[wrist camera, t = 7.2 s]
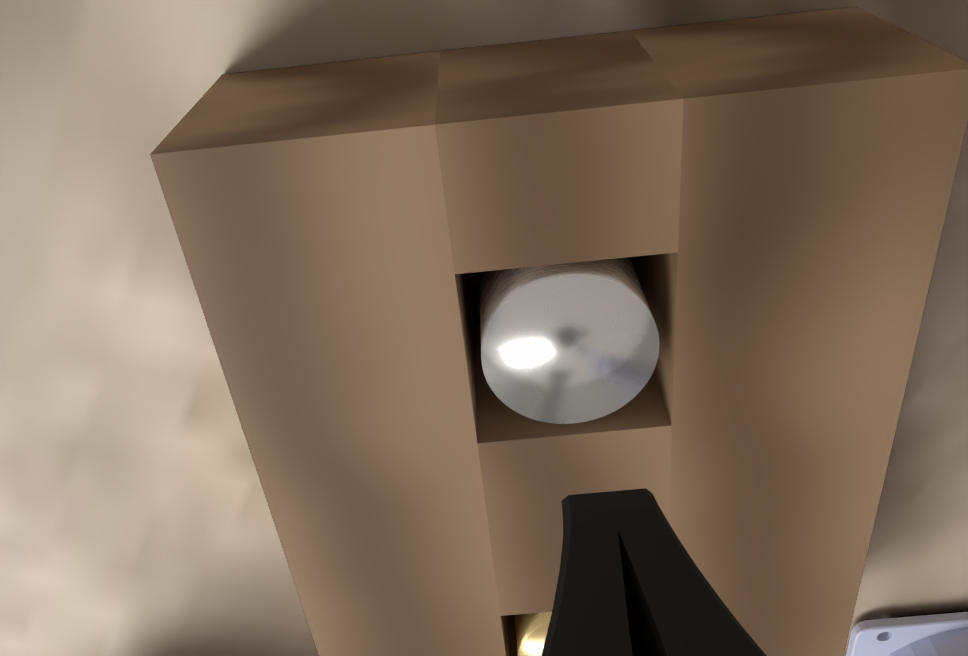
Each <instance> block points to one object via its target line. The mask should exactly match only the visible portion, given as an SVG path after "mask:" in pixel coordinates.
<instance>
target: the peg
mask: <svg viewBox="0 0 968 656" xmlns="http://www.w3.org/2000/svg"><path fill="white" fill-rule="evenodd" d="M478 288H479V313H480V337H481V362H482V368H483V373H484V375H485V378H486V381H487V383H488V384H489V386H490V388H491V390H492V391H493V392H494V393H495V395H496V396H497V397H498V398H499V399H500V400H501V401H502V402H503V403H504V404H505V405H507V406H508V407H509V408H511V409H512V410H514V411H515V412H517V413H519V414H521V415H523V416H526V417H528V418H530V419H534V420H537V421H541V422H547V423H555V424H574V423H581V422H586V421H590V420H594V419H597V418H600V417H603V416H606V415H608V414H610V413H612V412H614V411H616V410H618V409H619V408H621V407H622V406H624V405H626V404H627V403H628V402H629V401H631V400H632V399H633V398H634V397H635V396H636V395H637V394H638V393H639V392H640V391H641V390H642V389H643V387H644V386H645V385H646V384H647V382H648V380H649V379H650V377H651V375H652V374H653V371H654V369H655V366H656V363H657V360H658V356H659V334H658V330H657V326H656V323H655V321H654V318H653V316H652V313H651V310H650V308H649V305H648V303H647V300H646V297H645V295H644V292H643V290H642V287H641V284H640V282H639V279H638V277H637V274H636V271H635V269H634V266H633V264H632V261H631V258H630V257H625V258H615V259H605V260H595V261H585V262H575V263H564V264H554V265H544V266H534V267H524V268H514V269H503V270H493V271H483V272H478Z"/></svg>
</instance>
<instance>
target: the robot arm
mask: <svg viewBox="0 0 968 656" xmlns="http://www.w3.org/2000/svg"><path fill="white" fill-rule="evenodd" d="M561 502H562V518H563V544H562V553H561V563H560V570H559V576H558V582H557V587H556V593H555V599H554V605H553V610H552V614H551V619H550V623H549V627H548V631H547V635H546V639H545V643H544V647H543V651H542V655H541V656H767V655H766V654H765V653H764V652H763V651H762V650H761V648H760V647H759V646H758V645H757V644H756V642H755V641H754V640H753V639H752V638H751V636H750V635H749V634H748V633H747V632H746V630H745V629H744V628H743V627H742V625H741V624H740V623H739V622H738V621H737V619H736V618H735V617H734V615H733V614H732V613H731V612H730V610H729V609H728V608H727V607H726V605H725V604H724V603H723V601H722V600H721V599H720V597H719V596H718V594H717V593H716V592H715V590H714V589H713V588H712V586H711V585H710V584H709V582H708V581H707V580H706V578H705V577H704V575H703V574H702V573H701V571H700V570H699V568H698V567H697V566H696V564H695V563H694V561H693V560H692V558H691V557H690V555H689V554H688V552H687V551H686V549H685V548H684V546H683V545H682V543H681V542H680V540H679V539H678V537H677V535H676V534H675V532H674V531H673V529H672V527H671V526H670V524H669V522H668V521H667V519H666V517H665V516H664V514H663V512H662V510H661V509H660V507H659V505H658V503H657V501H656V499H655V497H654V495H653V493H651V492H650V491H649V490H647V489H646V488H643V489H632V490H620V491H609V492H597V493H586V494H574V495H568V496H567V497H566V498H564V499H563V500H562V501H561ZM846 656H968V612H958V613H946V614H934V615H922V616H910V617H898V618H886V619H874V620H865V621H861V622H859V623H857V624H856V625H855V626H854V627H853V629H852V631H851V636H850V640H849V644H848V649H847V653H846Z"/></svg>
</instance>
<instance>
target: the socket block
mask: <svg viewBox="0 0 968 656" xmlns="http://www.w3.org/2000/svg"><path fill="white" fill-rule="evenodd" d="M967 122H968V62H967V61H965V60H963V59H961V58H959V57H957V56H955V55H953V54H951V53H949V52H947V51H945V50H943V49H941V48H939V47H937V46H934V45H932V44H930V43H928V42H926V41H924V40H922V39H920V38H918V37H916V36H914V35H912V34H910V33H908V32H906V31H904V30H902V29H900V28H898V27H896V26H894V25H892V24H890V23H887V22H885V21H883V20H881V19H879V18H877V17H875V16H873V15H871V14H869V13H867V12H865V11H863V10H861V9H859V8H857V7H847V8H838V9H828V10H819V11H810V12H800V13H791V14H782V15H772V16H763V17H754V18H744V19H735V20H726V21H716V22H707V23H698V24H688V25H679V26H670V27H660V28H651V29H642V30H632V31H623V32H614V33H604V34H595V35H586V36H576V37H567V38H557V39H548V40H539V41H529V42H520V43H511V44H501V45H492V46H483V47H473V48H464V49H455V50H445V51H436V52H427V53H417V54H408V55H399V56H389V57H380V58H371V59H361V60H352V61H343V62H333V63H324V64H315V65H305V66H296V67H287V68H277V69H268V70H259V71H249V72H240V73H231V74H222V76H221V77H220V78H219V79H218V80H217V81H216V82H215V83H214V84H213V85H212V87H211V88H210V89H209V90H208V91H207V92H206V93H205V94H204V95H203V97H202V98H201V99H200V100H199V101H198V102H197V103H196V104H195V105H194V106H193V108H192V109H191V110H190V111H189V112H188V113H187V114H186V115H185V116H184V118H183V119H182V120H181V121H180V122H179V123H178V124H177V125H176V126H175V127H174V129H173V130H172V131H171V132H170V133H169V134H168V135H167V136H166V137H165V139H164V140H163V141H162V142H161V143H160V144H159V145H158V146H157V147H156V148H155V150H154V151H153V152H152V153H151V154H150V155H151V158H152V161H153V164H154V167H155V170H156V173H157V176H158V179H159V182H160V185H161V188H162V191H163V194H164V197H165V200H166V203H167V206H168V209H169V212H170V215H171V218H172V221H173V224H174V227H175V230H176V233H177V236H178V238H179V241H180V244H181V247H182V250H183V253H184V256H185V259H186V262H187V265H188V268H189V271H190V274H191V277H192V280H193V283H194V286H195V289H196V292H197V295H198V298H199V301H200V304H201V307H202V310H203V313H204V316H205V319H206V322H207V325H208V328H209V331H210V334H211V337H212V340H213V343H214V346H215V349H216V351H217V354H218V357H219V360H220V363H221V366H222V369H223V372H224V375H225V378H226V381H227V384H228V387H229V390H230V393H231V396H232V399H233V402H234V405H235V408H236V411H237V414H238V417H239V420H240V423H241V426H242V429H243V432H244V435H245V438H246V441H247V444H248V447H249V450H250V453H251V456H252V459H253V462H254V464H255V467H256V470H257V473H258V476H259V479H260V482H261V485H262V488H263V491H264V494H265V497H266V500H267V503H268V506H269V509H270V512H271V515H272V518H273V521H274V524H275V527H276V530H277V533H278V536H279V539H280V542H281V545H282V548H283V551H284V554H285V557H286V560H287V563H288V566H289V569H290V572H291V575H292V577H293V580H294V583H295V586H296V589H297V592H298V595H299V598H300V601H301V604H302V607H303V610H304V613H305V616H306V619H307V622H308V625H309V628H310V631H311V634H312V637H313V640H314V643H315V646H316V649H317V652H318V655H319V656H518V655H517V640H516V626H515V615H517V614H529V613H541V612H552V610H553V605H554V599H555V593H556V587H557V582H558V576H559V570H560V563H561V553H562V544H563V518H562V502H561V501H562V500H563V499H564V498H566V497H567V496H568V495H574V494H586V493H597V492H609V491H620V490H632V489H643V488H646V489H647V490H649V491H650V492H651V493H653V495H654V497H655V499H656V501H657V503H658V505H659V507H660V509H661V510H662V512H663V514H664V516H665V517H666V519H667V521H668V522H669V524H670V526H671V527H672V529H673V531H674V532H675V534H676V535H677V537H678V539H679V540H680V542H681V543H682V545H683V546H684V548H685V549H686V551H687V552H688V554H689V555H690V557H691V558H692V560H693V561H694V563H695V564H696V566H697V567H698V568H699V570H700V571H701V573H702V574H703V575H704V577H705V578H706V580H707V581H708V582H709V584H710V585H711V586H712V588H713V589H714V590H715V592H716V593H717V594H718V596H719V597H720V599H721V600H722V601H723V603H724V604H725V605H726V607H727V608H728V609H729V610H730V612H731V613H732V614H733V615H734V617H735V618H736V619H737V621H738V622H739V623H740V624H741V625H742V627H743V628H744V629H745V630H746V632H747V633H748V634H749V635H750V636H751V638H752V639H753V640H754V641H755V642H756V644H757V645H758V646H759V647H760V648H761V650H762V651H763V652H764V653H765V654H766V655H767V656H844V651H845V647H846V643H847V639H848V634H849V630H850V626H851V621H852V617H853V613H854V608H855V604H856V600H857V595H858V591H859V587H860V583H861V578H862V574H863V570H864V565H865V561H866V557H867V552H868V548H869V544H870V539H871V535H872V531H873V527H874V522H875V518H876V514H877V509H878V505H879V501H880V496H881V492H882V488H883V484H884V479H885V475H886V471H887V466H888V462H889V458H890V453H891V449H892V445H893V440H894V436H895V432H896V428H897V423H898V419H899V415H900V410H901V406H902V402H903V397H904V393H905V389H906V384H907V380H908V376H909V372H910V367H911V363H912V359H913V354H914V350H915V346H916V341H917V337H918V333H919V329H920V324H921V320H922V316H923V311H924V307H925V303H926V298H927V294H928V290H929V285H930V281H931V277H932V273H933V268H934V264H935V260H936V255H937V251H938V247H939V242H940V238H941V234H942V229H943V225H944V221H945V217H946V212H947V208H948V204H949V199H950V195H951V191H952V186H953V182H954V178H955V174H956V169H957V165H958V161H959V156H960V152H961V148H962V143H963V139H964V135H965V130H966V126H967ZM625 257H630V258H631V261H632V264H633V266H634V269H635V271H636V274H637V277H638V279H639V282H640V284H641V287H642V290H643V292H644V295H645V297H646V300H647V303H648V305H649V308H650V310H651V313H652V316H653V318H654V321H655V323H656V326H657V330H658V334H659V356H658V360H657V363H656V366H655V369H654V371H653V374H652V375H651V377H650V379H649V380H648V382H647V384H646V385H645V386H644V387H643V389H642V390H641V391H640V392H639V393H638V394H637V395H636V396H635V397H634V398H633V399H632V400H631V401H629V402H628V403H627V404H626V405H624V406H622V407H621V408H619V409H618V410H616V411H614V412H612V413H610V414H608V415H606V416H603V417H600V418H597V419H594V420H590V421H586V422H581V423H574V424H555V423H547V422H541V421H537V420H534V419H530V418H528V417H526V416H523V415H521V414H519V413H517V412H515V411H514V410H512V409H511V408H509V407H508V406H507V405H505V404H504V403H503V402H502V401H501V400H500V399H499V398H498V397H497V396H496V395H495V393H494V392H493V391H492V390H491V388H490V386H489V384H488V383H487V381H486V378H485V375H484V373H483V368H482V362H481V337H480V320H478V321H474V318H473V310H472V302H471V294H470V286H469V278H468V273H473V272H483V271H493V270H503V269H514V268H524V267H534V266H544V265H554V264H564V263H575V262H585V261H595V260H605V259H615V258H625Z"/></svg>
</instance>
